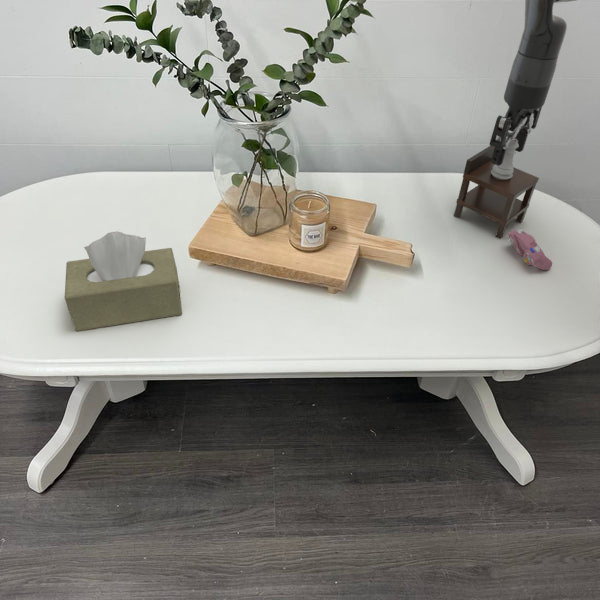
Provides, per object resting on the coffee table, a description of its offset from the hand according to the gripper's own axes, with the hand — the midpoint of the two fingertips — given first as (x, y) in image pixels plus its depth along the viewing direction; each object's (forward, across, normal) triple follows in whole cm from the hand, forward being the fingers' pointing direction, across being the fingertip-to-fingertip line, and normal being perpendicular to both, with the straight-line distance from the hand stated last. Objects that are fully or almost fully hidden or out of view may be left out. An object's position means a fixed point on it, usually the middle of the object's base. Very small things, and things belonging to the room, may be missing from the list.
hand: (506, 156), depth 117 cm
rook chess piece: (+4, 0, 0) cm, 4 cm away
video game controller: (+15, -7, -13) cm, 21 cm away
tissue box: (+15, -73, +31) cm, 81 cm away
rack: (+15, 0, 0) cm, 15 cm away
